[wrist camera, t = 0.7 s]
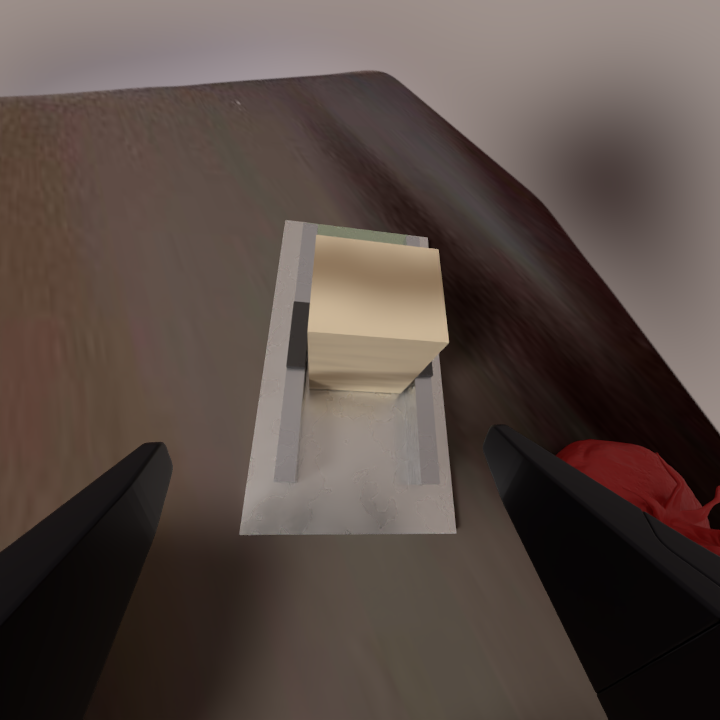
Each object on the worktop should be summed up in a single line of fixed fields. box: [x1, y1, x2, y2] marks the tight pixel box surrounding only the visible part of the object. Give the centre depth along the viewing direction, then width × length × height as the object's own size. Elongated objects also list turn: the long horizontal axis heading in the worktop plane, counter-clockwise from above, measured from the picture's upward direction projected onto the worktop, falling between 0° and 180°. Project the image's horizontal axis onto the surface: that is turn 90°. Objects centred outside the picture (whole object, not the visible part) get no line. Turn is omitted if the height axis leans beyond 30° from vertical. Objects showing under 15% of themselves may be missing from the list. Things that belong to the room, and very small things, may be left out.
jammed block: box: [307, 235, 449, 393], centre depth 20 cm, size 6×7×9 cm
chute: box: [239, 220, 456, 535], centre depth 23 cm, size 26×14×4 cm, turn 179°
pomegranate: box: [555, 439, 720, 556], centre depth 18 cm, size 10×10×9 cm
